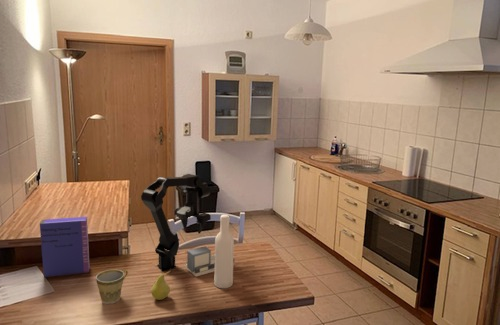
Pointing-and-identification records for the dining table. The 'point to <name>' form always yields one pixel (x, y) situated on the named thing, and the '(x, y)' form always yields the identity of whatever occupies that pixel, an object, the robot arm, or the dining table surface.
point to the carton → (198, 258)
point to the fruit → (160, 288)
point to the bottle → (224, 255)
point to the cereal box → (64, 246)
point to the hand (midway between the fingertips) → (192, 231)
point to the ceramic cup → (110, 285)
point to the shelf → (205, 267)
